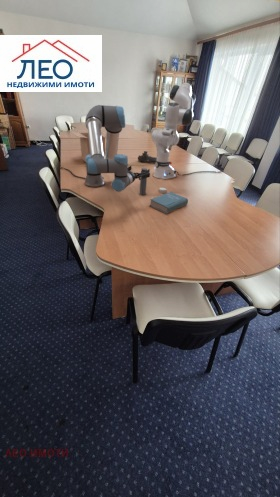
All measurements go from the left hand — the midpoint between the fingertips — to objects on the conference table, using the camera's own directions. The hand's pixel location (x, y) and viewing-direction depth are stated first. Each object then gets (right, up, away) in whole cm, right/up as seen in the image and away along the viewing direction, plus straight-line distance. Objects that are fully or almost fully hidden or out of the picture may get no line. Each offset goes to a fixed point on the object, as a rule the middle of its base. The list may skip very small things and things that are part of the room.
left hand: (139, 169), depth 154 cm
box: (-50, +39, +83) cm, 104 cm away
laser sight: (+9, +41, +93) cm, 102 cm away
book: (+21, -24, +5) cm, 32 cm away
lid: (+19, -7, +25) cm, 32 cm away
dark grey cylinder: (+2, -12, +20) cm, 23 cm away
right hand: (+21, +16, +9) cm, 28 cm away
